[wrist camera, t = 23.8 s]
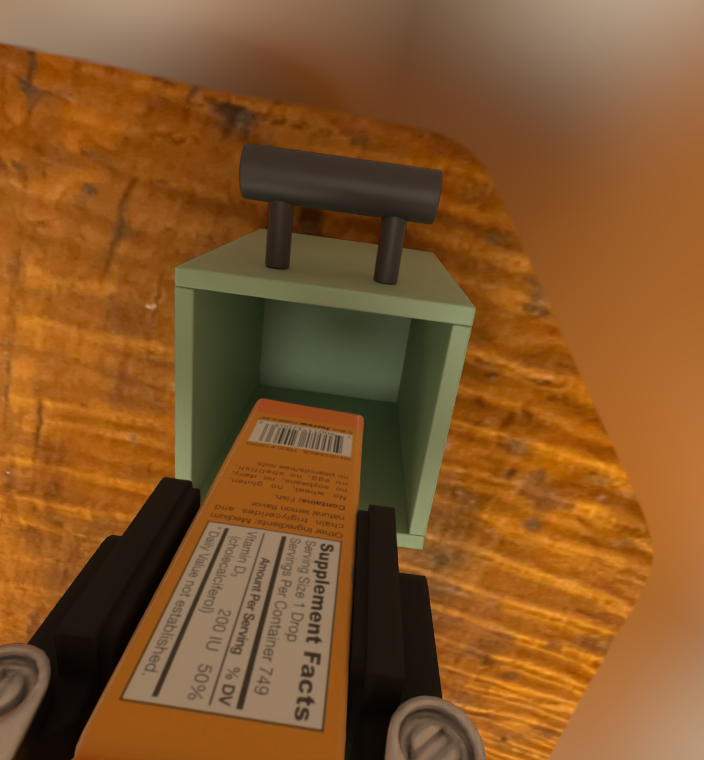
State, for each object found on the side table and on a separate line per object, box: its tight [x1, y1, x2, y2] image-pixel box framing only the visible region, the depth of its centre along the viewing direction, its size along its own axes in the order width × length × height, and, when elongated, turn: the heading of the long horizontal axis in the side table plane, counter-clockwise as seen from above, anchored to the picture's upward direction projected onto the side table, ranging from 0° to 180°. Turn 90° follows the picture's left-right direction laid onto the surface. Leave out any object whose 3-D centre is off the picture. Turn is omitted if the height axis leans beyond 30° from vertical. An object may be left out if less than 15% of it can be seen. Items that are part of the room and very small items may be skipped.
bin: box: [175, 144, 476, 549], centre depth 22 cm, size 12×9×13 cm
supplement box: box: [72, 398, 364, 760], centre depth 11 cm, size 3×3×10 cm
